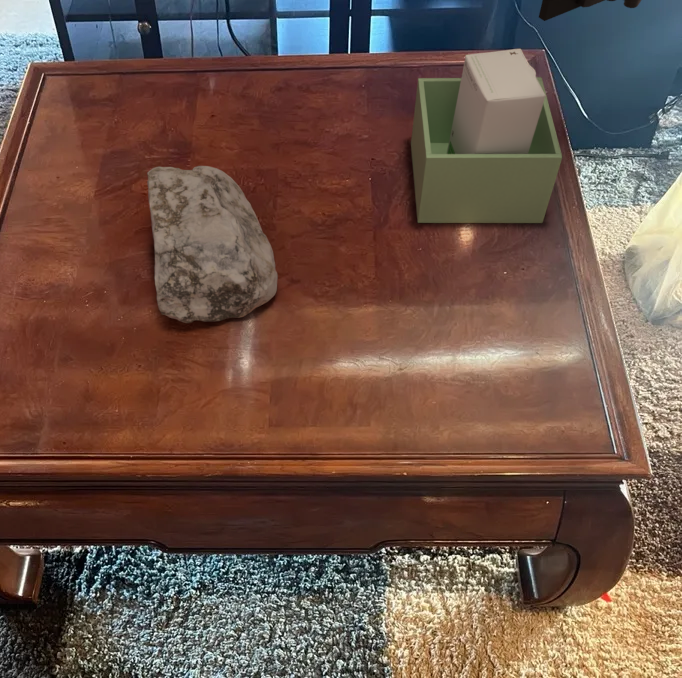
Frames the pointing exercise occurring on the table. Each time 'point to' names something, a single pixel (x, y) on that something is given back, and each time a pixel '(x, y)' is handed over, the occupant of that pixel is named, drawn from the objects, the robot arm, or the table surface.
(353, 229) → the table surface
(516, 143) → the cosmetic box
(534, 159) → the bin
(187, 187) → the decorative stone
